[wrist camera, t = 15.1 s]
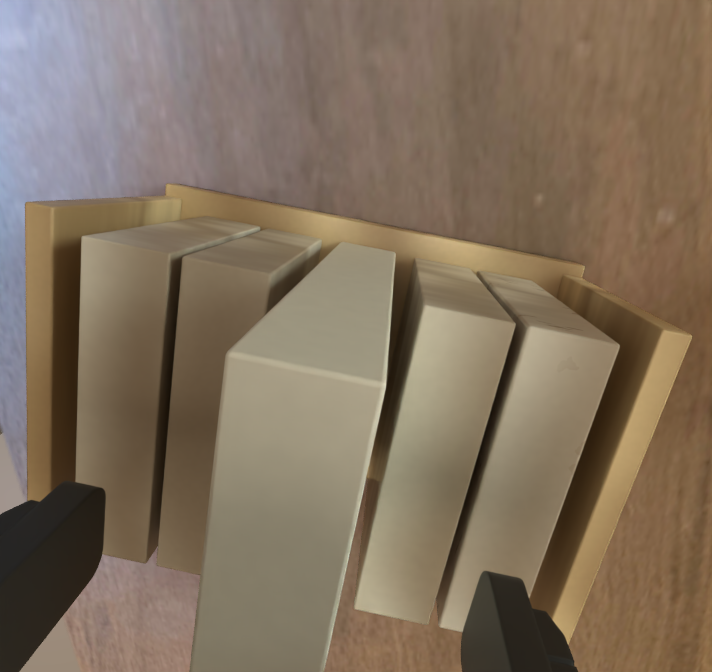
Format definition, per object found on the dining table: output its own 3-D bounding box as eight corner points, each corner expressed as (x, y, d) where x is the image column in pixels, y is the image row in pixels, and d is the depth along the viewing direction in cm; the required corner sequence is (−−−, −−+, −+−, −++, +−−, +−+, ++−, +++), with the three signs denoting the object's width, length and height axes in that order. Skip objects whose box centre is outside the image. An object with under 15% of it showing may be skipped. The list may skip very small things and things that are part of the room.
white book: (305, 446, 25) (172, 810, 10) (340, 241, 22) (224, 351, 7) (353, 456, 25) (288, 837, 10) (396, 251, 22) (387, 384, 7)
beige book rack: (156, 423, 26) (15, 561, 17) (175, 183, 23) (9, 181, 13) (503, 496, 26) (564, 682, 16) (577, 262, 22) (713, 322, 13)
